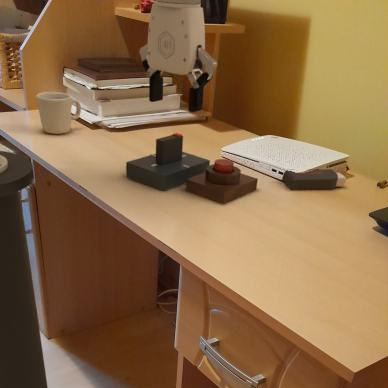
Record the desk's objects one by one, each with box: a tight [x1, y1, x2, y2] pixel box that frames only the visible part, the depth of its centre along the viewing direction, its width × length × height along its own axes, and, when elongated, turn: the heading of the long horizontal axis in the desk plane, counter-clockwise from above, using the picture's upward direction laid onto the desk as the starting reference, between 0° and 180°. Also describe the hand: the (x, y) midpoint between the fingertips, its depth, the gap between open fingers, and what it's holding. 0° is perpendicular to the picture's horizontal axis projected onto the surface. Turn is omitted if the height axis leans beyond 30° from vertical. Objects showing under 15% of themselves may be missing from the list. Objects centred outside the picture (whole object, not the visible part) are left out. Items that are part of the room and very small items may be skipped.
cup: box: [35, 91, 82, 135], centre depth 123 cm, size 11×8×8 cm
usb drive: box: [281, 168, 347, 191], centre depth 105 cm, size 5×12×3 cm, turn 102°
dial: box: [155, 132, 184, 165], centre depth 102 cm, size 6×2×5 cm, turn 141°
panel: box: [125, 151, 211, 192], centre depth 104 cm, size 14×10×3 cm
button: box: [214, 158, 235, 173], centre depth 98 cm, size 4×4×2 cm
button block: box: [185, 163, 259, 205], centre depth 99 cm, size 11×9×4 cm
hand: (175, 105), depth 97 cm, fingers open, 9 cm apart
